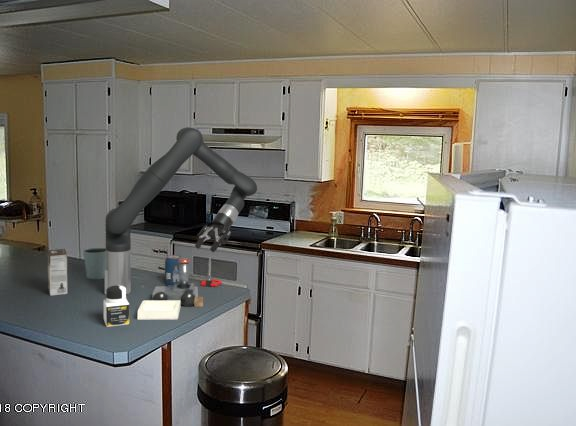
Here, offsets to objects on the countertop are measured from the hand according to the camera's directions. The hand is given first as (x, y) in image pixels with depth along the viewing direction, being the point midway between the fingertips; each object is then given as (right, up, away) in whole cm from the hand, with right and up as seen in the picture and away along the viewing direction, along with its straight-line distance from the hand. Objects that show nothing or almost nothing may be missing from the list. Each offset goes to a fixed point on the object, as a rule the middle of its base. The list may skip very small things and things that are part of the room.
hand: (204, 249), depth 192 cm
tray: (-12, -21, -21) cm, 32 cm away
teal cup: (-51, -14, +21) cm, 57 cm away
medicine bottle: (-24, -22, -31) cm, 45 cm away
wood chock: (0, -20, -11) cm, 23 cm away
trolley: (-10, -19, -7) cm, 23 cm away
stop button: (-7, -15, -6) cm, 18 cm away
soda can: (-16, -16, +15) cm, 27 cm away
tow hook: (0, -17, +18) cm, 25 cm away
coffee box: (-57, -17, -1) cm, 59 cm away
